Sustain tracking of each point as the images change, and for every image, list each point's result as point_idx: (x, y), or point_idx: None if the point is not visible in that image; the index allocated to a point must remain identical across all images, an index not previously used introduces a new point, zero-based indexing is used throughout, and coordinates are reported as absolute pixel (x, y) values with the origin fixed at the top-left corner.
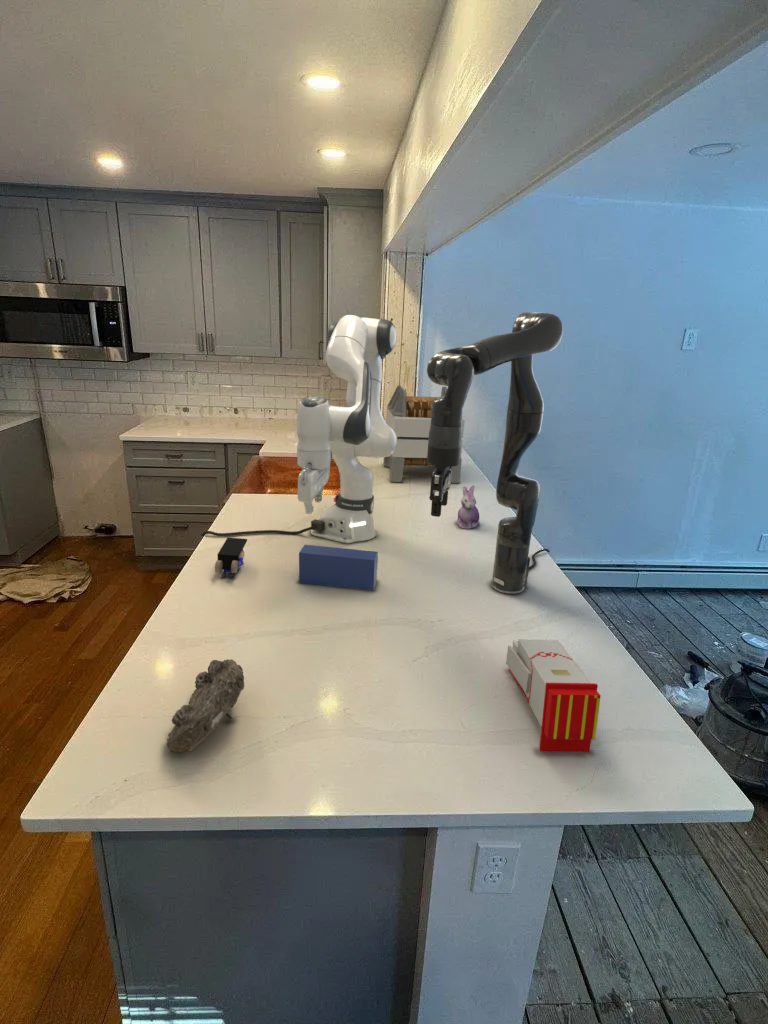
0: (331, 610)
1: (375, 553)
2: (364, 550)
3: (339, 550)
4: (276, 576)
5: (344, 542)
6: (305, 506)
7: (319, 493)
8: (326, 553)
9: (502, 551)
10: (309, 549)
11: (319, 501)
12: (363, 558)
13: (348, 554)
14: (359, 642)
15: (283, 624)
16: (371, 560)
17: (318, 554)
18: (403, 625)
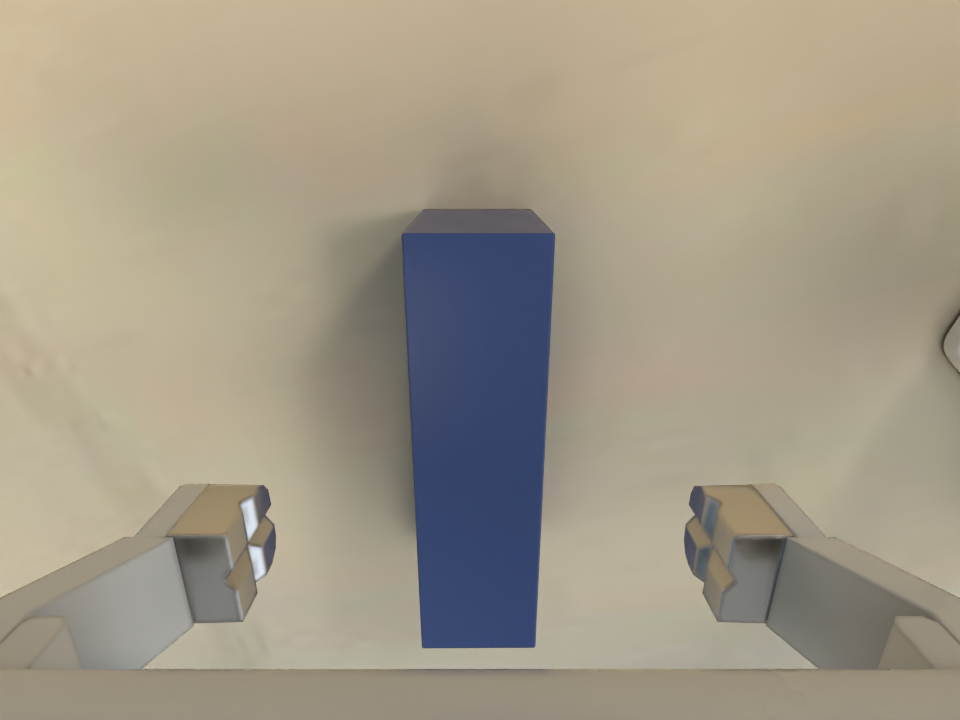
0: (218, 415)
1: (507, 641)
2: (535, 590)
3: (503, 471)
4: (466, 54)
5: (954, 326)
6: (99, 556)
7: (809, 622)
8: (439, 410)
9: None
10: (472, 291)
11: (687, 550)
12: (427, 601)
13: (458, 526)
14: (50, 545)
15: (23, 256)
16: (421, 633)
17: (409, 368)
18: (216, 647)
